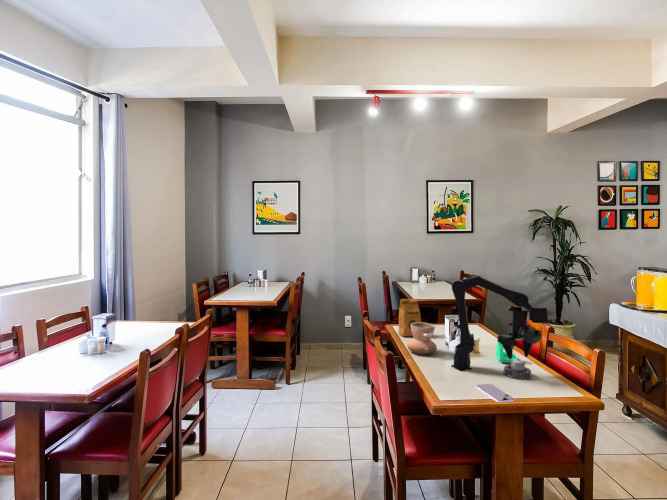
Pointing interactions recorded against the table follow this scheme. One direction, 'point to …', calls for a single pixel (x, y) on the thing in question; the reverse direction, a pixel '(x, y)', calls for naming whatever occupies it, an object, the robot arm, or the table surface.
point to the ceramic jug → (422, 338)
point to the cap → (518, 365)
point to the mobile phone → (494, 393)
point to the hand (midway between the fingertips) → (518, 357)
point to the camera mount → (503, 354)
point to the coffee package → (408, 315)
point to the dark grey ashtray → (517, 373)
